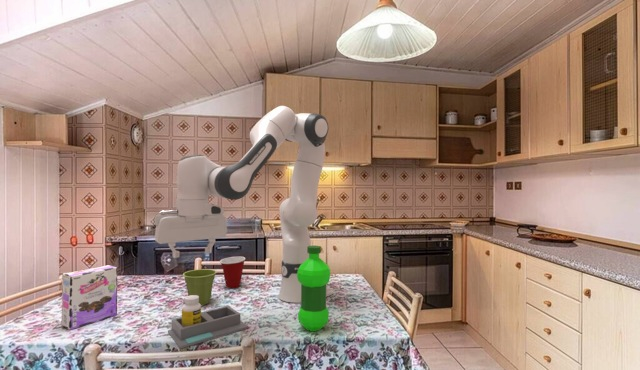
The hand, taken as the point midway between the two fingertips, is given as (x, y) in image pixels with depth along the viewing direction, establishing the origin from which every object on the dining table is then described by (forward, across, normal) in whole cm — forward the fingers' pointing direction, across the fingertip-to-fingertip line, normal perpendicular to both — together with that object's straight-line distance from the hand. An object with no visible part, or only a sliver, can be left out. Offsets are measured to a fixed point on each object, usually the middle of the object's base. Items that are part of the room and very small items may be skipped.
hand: (192, 255), depth 98 cm
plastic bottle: (+23, +30, -20) cm, 43 cm away
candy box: (+23, -23, +29) cm, 43 cm away
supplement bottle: (+22, 0, 0) cm, 23 cm away
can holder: (+23, +4, -2) cm, 23 cm away
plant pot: (+23, +10, +23) cm, 34 cm away
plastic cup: (+23, +28, +34) cm, 50 cm away
